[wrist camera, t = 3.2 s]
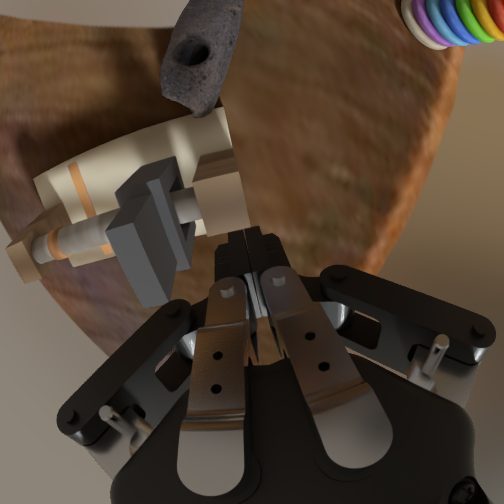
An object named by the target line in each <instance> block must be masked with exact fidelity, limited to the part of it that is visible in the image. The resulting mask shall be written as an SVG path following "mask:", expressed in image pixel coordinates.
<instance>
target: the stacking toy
mask: <svg viewBox="0 0 504 504" xmlns="http://www.w3.org/2000/svg"><path fill="white" fill-rule="evenodd" d="M401 12H402V16H403V19H404V21H405V23H406V25H407V27H408V29H409V30H410V31H411V33H412V34H413V35H414V36H415V37H416V38H417V39H418V40H419V41H420V42H421V43H422V44H424V45H425V46H427V47H429V48H432V49H436V50H442V49H445V48H447V47H453V46H456V45H457V46H466V45H468V44H478V43H480V42H481V41H482V42H486V43H490V42H493V41H494V40H495V39H496V40H500V41H503V40H504V0H402V2H401Z"/></svg>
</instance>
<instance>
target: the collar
mask: <svg viewBox="0 0 504 504" xmlns="http://www.w3.org/2000/svg"><path fill="white" fill-rule="evenodd" d="M182 189H185V187H184V183H183V180H182V176H181V173H180V169H179V166H178V162H177V159H176V156H172V157H169V158H165V159H162V160H159V161H156V162H152V163H149V164H146V165H143V166H141V167H140V168H139V169H138V170H136V171H135V172H134V173H133V174H132V175H131V176H130V177H129V178H128V179H127V180H126V181H125V182H124V183H123V184H122V185H121V186H120V187H119V188H118V189H117V190H116V192H115V193H114V194H115V196H116V199H117V202H118V204H119V207H120V209H121V210H120V211H119V212H118V214H117V215H116V216H115V218H114V219H113V220H112V222H111V223H110V224H109V226H108V227H107V229H106V230H105V233H106V235H107V238H108V240H109V242H110V244H111V246H112V248H113V250H114V253H115V255H116V257H117V259H118V261H119V263H120V265H121V267H122V269H123V271H124V273H125V275H126V276H127V278H128V280H129V282H130V284H131V286H132V288H133V290H134V291H135V293H136V295H137V297H138V299H139V300H140V302H141V304H142V306H143V307H144V308H149V307H154V306H160V305H164V304H166V303H167V302H169V301H170V299H171V293H172V287H173V282H174V277H175V272H177V271H182V270H186V269H190V268H191V260H192V253H193V245H194V238H195V231H196V223H195V221H191V222H187V223H183V224H180V223H179V220H178V217H177V214H176V211H175V208H174V205H173V202H172V199H171V196H170V192H174V191H178V190H182Z"/></svg>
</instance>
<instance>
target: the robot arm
mask: <svg viewBox="0 0 504 504" xmlns="http://www.w3.org/2000/svg"><path fill="white" fill-rule="evenodd" d="M244 231H245V236H246V240H245V236H244V232H243V229H241V230H237V231H232V232H228V242H229V243H226V244H221V245H219V246H218V247H217V249H216V251H215V283H214V284H213V285H212V286H211V287H210V289H209V295H208V297H207V298H206V299H204V300H202V301H201V302H198V303H196V304H194V305H192V306H191V305H190V303H189V302H188V301H186V300H183V299H176V300H172V301H169V302H167V303H166V304H164V305H163V306H162V307H161V308H160V309H159V310H157V311H156V312H155V313H154V314H153V315H152V316H151V317H150V318H149V319H148V320H147V321H146V322H145V323H144V324H143V325H142V326H141V327H140V328H139V329H138V330H137V331H136V332H135V333H134V334H133V335H132V336H131V337H130V338H129V339H128V340H127V341H126V342H125V343H124V344H123V345H122V346H121V347H120V348H118V349H117V350H116V351H115V352H114V353H113V354H112V355H111V356H110V357H109V358H108V359H107V360H106V361H105V362H104V363H103V365H102V366H101V367H99V368H98V369H97V371H95V373H94V374H92V376H91V377H90V378H89V379H88V380H87V381H86V382H85V383H84V384H83V385H82V386H81V387H80V388H79V389H78V390H77V391H76V392H75V393H74V394H73V395H72V396H71V397H70V398H69V399H68V400H67V401H66V402H65V403H64V404H63V405H62V407H61V408H60V409H59V412H58V414H57V426H58V428H59V430H60V431H61V432H62V433H64V434H65V435H67V436H68V437H70V438H71V439H73V440H74V441H76V442H77V443H78V444H79V445H81V446H83V447H84V448H86V449H87V450H88V452H89V453H90V455H91V456H92V457H93V458H94V459H95V461H96V462H97V463H98V464H99V465H100V466H101V468H102V469H103V470H104V471H105V472H106V473H107V474H108V475H109V476H110V478H111V479H112V480H113V482H112V485H111V491H110V498H111V504H493V502H492V501H491V500H490V499H489V498H488V496H487V495H486V494H485V492H484V491H483V490H482V488H481V487H480V485H479V484H478V482H477V480H476V477H475V471H474V444H475V429H474V425H473V422H472V420H471V418H470V416H469V415H468V413H467V412H466V411H465V410H464V407H465V404H466V402H467V399H468V396H469V393H470V390H471V387H472V384H473V381H474V378H475V374H476V371H477V367H478V365H479V364H480V362H481V361H482V359H483V358H484V357H485V355H486V354H487V352H488V350H489V349H490V348H491V346H492V344H493V343H494V341H495V338H496V331H495V328H494V326H493V324H492V322H491V321H490V320H489V319H487V318H486V317H484V316H482V315H479V314H477V313H474V312H471V311H469V310H466V309H463V308H461V307H458V306H456V305H453V304H450V303H448V302H445V301H442V300H440V299H437V298H434V297H432V296H429V295H426V294H424V293H421V292H418V291H415V290H413V289H410V288H407V287H405V286H402V285H399V284H396V283H394V282H391V281H388V280H385V279H382V278H380V277H377V276H374V275H371V274H369V273H366V272H363V271H360V270H357V269H354V268H352V267H349V266H345V265H332V266H329V267H327V268H325V269H324V270H323V271H322V272H321V273H320V277H304V276H301V275H298V274H297V272H296V271H295V270H294V269H292V268H291V266H290V263H289V261H288V259H287V256H286V254H285V251H284V249H283V246H282V244H281V242H280V239H279V237H277V236H276V235H274V234H273V233H270V234H266V235H262V233H261V230H260V227H259V226H254V227H250V228H245V229H244ZM246 241H247V245H246ZM247 246H248V249H247ZM248 251H249V253H248ZM249 256H250V258H249ZM250 261H251V262H250ZM253 276H254V277H253ZM254 280H255V282H254ZM255 284H256V287H255ZM256 289H257V292H256ZM257 293H258V297H259V301H260V306H261V310H262V314H263V316H267V315H268V319H269V324H270V328H271V332H272V335H273V338H274V341H275V344H276V347H277V350H278V353H279V356H280V359H281V360H279V361H277V362H275V363H273V364H270V365H261V363H260V350H259V336H258V330H257V327H258V324H257V318H258V317H261V312H260V307H259V302H258V297H257ZM355 310H356V311H359V312H361V313H364V314H366V315H368V316H370V317H373V318H375V319H377V320H378V321H379V322H380V323H379V322H376V321H374V320H372V319H369V318H367V317H365V316H362V315H360V314H358V313H355ZM345 346H346V347H348V348H350V349H352V350H354V351H356V352H358V353H360V354H362V355H365V356H367V357H368V358H371V359H373V360H375V361H377V362H379V363H381V364H383V365H386V366H388V367H390V368H392V369H394V370H396V371H399V372H401V373H403V374H405V375H407V380H406V379H404V378H402V377H400V376H398V375H397V374H395V373H393V372H391V371H389V370H387V369H385V368H383V367H381V366H379V365H377V364H375V363H373V362H371V361H369V360H367V359H365V358H363V357H361V356H358V355H355V354H351V353H348V352H347V350H346V348H345ZM173 347H174V349H175V350H176V351H175V352H174V353H173V354H172V355H171V356H170V357H169V358H168V360H167V361H166V362H165V363H164V364H163V365H162V366H161V367H160V368H159V369H158V370H157V372H156V373H155V368H156V366H157V365H158V363H159V362H160V361H161V360H162V359H163V358H164V357H165V356H166V355H167V354H168V353H169V352H170V350H171V349H172V348H173ZM189 387H190V388H189ZM188 388H189V389H188ZM159 422H160V423H159ZM158 423H159V424H158ZM155 427H156V428H155ZM154 428H155V429H154ZM153 429H154V430H153Z"/></svg>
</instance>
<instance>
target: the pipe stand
mask: <svg viewBox="0 0 504 504" xmlns="http://www.w3.org/2000/svg"><path fill="white" fill-rule="evenodd" d="M172 156H176V159H177V162H178V166H179V169H180V173H181V176H182V180H183V183H184V187H185V189H182V190H178V191H174V192H170V196H171V199H172V202H173V205H174V208H175V211H176V214H177V217H178V220H179V223H180V224H183V223H187V222H191V221H195V223H196V231H195V236H198V235H202V234H207V236H213V235H217V234H222V233H226V232H231V231H235V230H240V229H244V228H249V227H251V226H250V222H249V217H248V212H247V208H246V203H245V198H244V194H243V189H242V184H241V180H240V175H239V170H238V167H237V163H236V159H235V155H234V152H233V148H232V143H231V139H230V134H229V130H228V125H227V120H226V116H225V111H224V107H219V108H215V109H213V110H212V112H211V113H210V114H209V115H207V116H205V117H203V118H202V117H201V118H194V117H193V116H192V114H190V115H187V116H183V117H179V118H176V119H173V120H169V121H166V122H163V123H159V124H156V125H153V126H150V127H147V128H144V129H141V130H139V131H136V132H133V133H130V134H127V135H125V136H122V137H120V138H117V139H114V140H112V141H109V142H107V143H105V144H102V145H100V146H97V147H95V148H93V149H91V150H88V151H86V152H84V153H82V154H80V155H77V156H75V157H73V158H71V159H69V160H67V161H65V162H63V163H61V164H59V165H57V166H55V167H53V168H51V169H50V170H48V171H46V172H44V173H42V174H40V175H39V176H37V177H35V178H34V179H33V180H34V183H35V186H36V188H37V191H38V193H39V196H40V198H41V201H42V203H43V206H44V208H45V211H44V212H43V213H41V214H40V215H39V216H38V217H37V218H36V219H35V220H34V221H33V222H32V223H30V224H29V225H28V226H27V227H26V228H25V229H24V230H23V231H22V232H21V233H20V234H19V235H18V236H17V237H16V238H15V239H14V240H13V241H12V242H11V243H10V244H9V245H8V246H7V247H6V248H5V250H6V252H7V254H8V256H9V258H10V259H11V261H12V263H13V265H14V267H15V268H16V270H17V272H18V273H19V275H20V277H21V278H22V280H23V282H24V283H29V282H32V281H36V280H39V279H43V277H44V276H45V274H46V273H47V272H48V270H49V269H50V267H51V266H52V265H53V263H54V262H55V261H56V260H61V259H64V258H67V257H68V258H69V260H70V262H71V264H72V265H73V267H76V266H80V265H83V264H87V263H91V262H94V261H98V260H102V259H106V258H109V257H113V256H116V255H115V253H114V250H113V248H112V246H111V244H110V242H109V240H108V238H107V235H106V233H105V230H106V229H107V227H108V226H109V224H110V223H111V222H112V220H113V219H114V218H115V216H116V215H117V214H118V212H119V211H120V210H121V209H120V207H119V204H118V202H117V199H116V196H115V194H114V193H115V192H116V190H117V189H118V188H119V187H120V186H121V185H122V184H123V183H124V182H125V181H126V180H127V179H128V178H129V177H130V176H131V175H132V174H133V173H134V172H135V171H136V170H138V169H139V168H140V167H141V166H143V165H146V164H149V163H152V162H156V161H159V160H162V159H165V158H169V157H172Z"/></svg>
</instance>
